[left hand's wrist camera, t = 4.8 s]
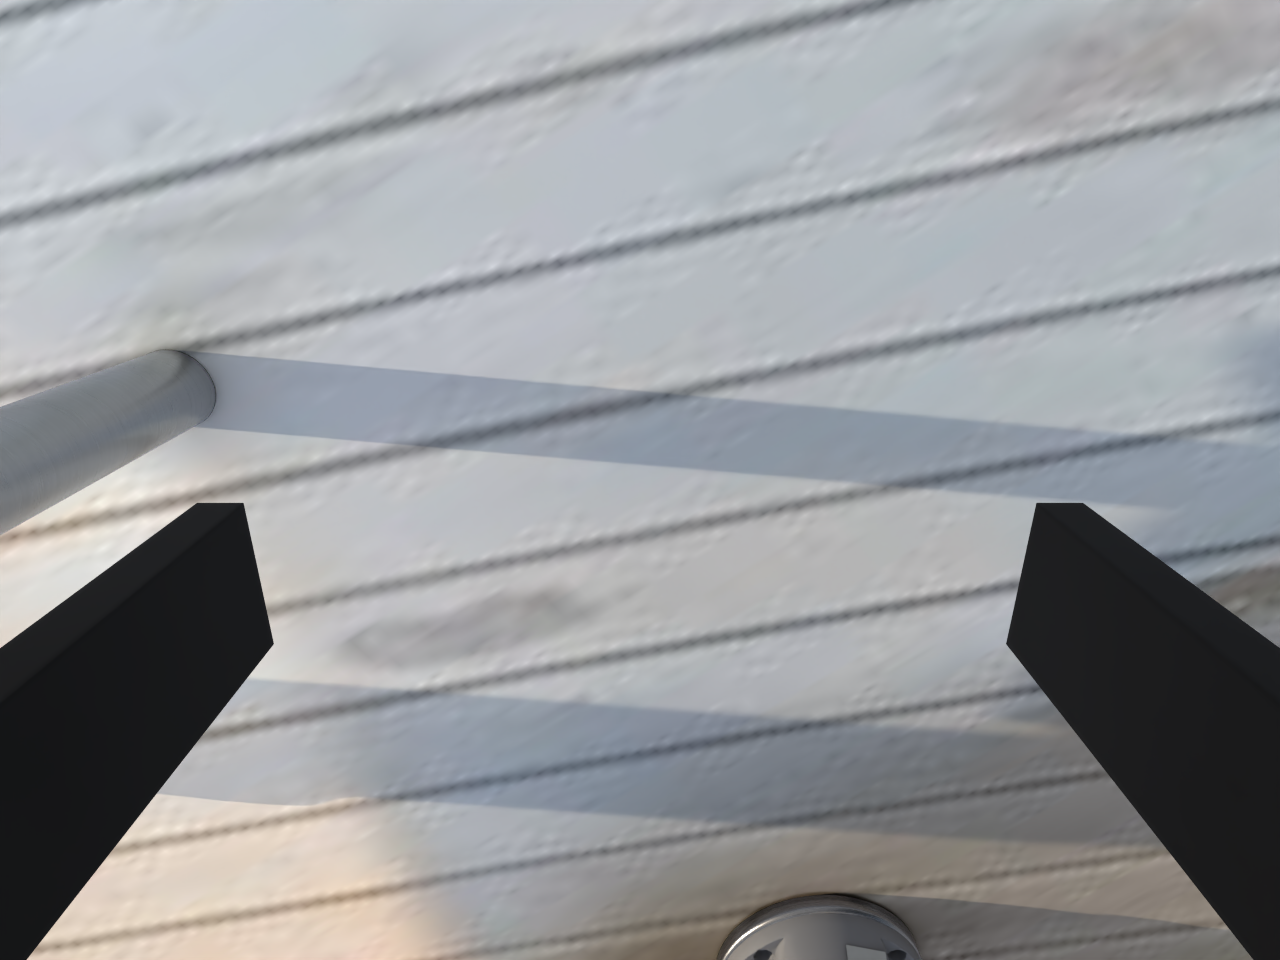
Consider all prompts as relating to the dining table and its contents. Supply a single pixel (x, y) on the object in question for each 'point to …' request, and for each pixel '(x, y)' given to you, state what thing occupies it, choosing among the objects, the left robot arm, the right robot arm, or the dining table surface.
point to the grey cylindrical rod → (95, 428)
